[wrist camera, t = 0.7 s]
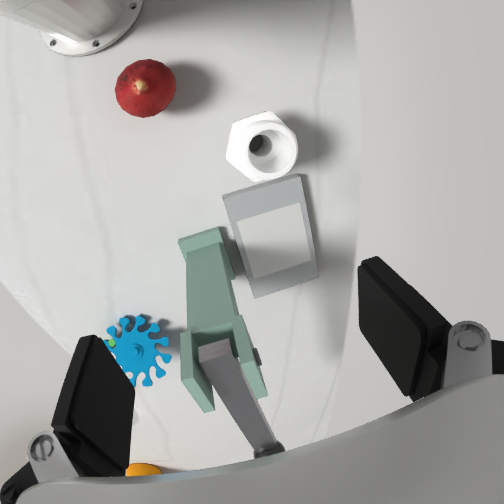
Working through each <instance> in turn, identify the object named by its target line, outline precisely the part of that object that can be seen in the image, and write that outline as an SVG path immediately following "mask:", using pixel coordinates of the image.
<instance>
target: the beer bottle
mask: <svg viewBox="0 0 504 504" xmlns="http://www.w3.org/2000/svg"><path fill="white" fill-rule="evenodd" d="M157 474H161V471H160V469H159V468H157V467H155V466H153V465H150V464H144V463H134V464H130V465H129V467H128V468H127V471H126V476H143V475H157Z"/></svg>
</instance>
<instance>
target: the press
mask: <svg viewBox="0 0 504 504" xmlns="http://www.w3.org/2000/svg"><path fill="white" fill-rule="evenodd" d="M222 197H223V201H224V204H225V207H226V210H227V214H228V217H229V220H230V223H231V226H232V230H233V233H234V236H235V239H236V242H237V245H238V249H239V252H240V255H241V258H242V261H243V264H244V268H245V271H246V274H247V277H248V280H249V283H250V286H251V290H252V293H253V296H254V299H255V298H259V297H262V296H265V295H268V294H271V293H274V292H277V291H280V290H283V289H286V288H289V287H292V286H295V285H298V284H301V283H304V282H306V281H309V280H312V279H315V278H318V277H319V274H318V268H317V262H316V256H315V250H314V244H313V239H312V233H311V228H310V222H309V217H308V212H307V207H306V202H305V197H304V192H303V187H302V182H301V177H300V176H299V175H298V174H293V175H289V176H286V177H282V178H278V179H275V180H272V181H268V182H265V183H261V184H258V185H255V186H251V187H248V188H245V189H241V190H238V191H235V192H232V193H228V194H225V195H222ZM178 244H179V247H180V249H181V252H182V254H183V256H184V259H185V261H186V285H187V331H185V332H182V333H180V360H181V381H182V383H183V384H184V385H185V387H186V388H187V390H188V391H189V393H190V394H191V395H192V397H193V398H194V400H195V401H196V402H197V404H198V405H199V407H200V408H201V409H202V411H203V412H204V413H206V412H210V411H215V405H214V398H213V391H212V383H211V381H210V380H209V378H208V376H207V375H206V373H205V371H204V369H203V368H202V366H201V364H200V362H199V352H198V347H200V346H203V345H207V344H210V343H214V342H217V341H220V340H224V339H227V338H229V339H230V342H231V344H232V346H233V348H234V351H235V353H236V355H237V357H239V360H240V364H241V366H242V369H243V371H244V373H245V375H246V377H247V380H248V382H249V384H250V386H251V388H252V390H253V393H254V395H255V397H256V399H259V398H262V397H266V396H268V394H267V390H266V387H265V383H264V380H263V376H262V373H261V370H260V365H262V363H261V360H260V356H259V354H258V351H257V348H254V347H253V344H252V341H251V339H250V336H249V333H248V331H247V328H246V325H245V322H244V320H243V317H242V314H241V315H239V312H238V308H237V304H236V300H235V296H234V292H233V288H232V283H231V280H234V279H235V275H234V272H233V269H232V266H231V263H230V260H229V257H228V254H227V251H226V248H225V245H224V242H223V239H222V236H221V233H220V230H219V227H215V228H212V229H209V230H206V231H203V232H200V233H197V234H194V235H191V236H188V237H185V238H182V239H179V240H178Z"/></svg>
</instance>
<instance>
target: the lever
mask: <svg viewBox="0 0 504 504" xmlns="http://www.w3.org/2000/svg"><path fill="white" fill-rule="evenodd" d="M198 352H199V362H200V364H201V366H202V368H203V369H204V371H205V373H206V375H207V376H208V378H209V380H210V381H211V383H212V385H213V386H214V388H215V390H216V391H217V393H218V395H219V396H220V398H221V399H222V401H223V403H224V404H225V406H226V408H227V409H228V411H229V412H230V414H231V415H232V417H233V419H234V420H235V422H236V423H237V425H238V426H239V428H240V429H241V431H242V432H243V434H244V435H245V437H246V438H247V440H248V441H249V443H250V444H251V446H252V447H253V449H254V458H255V459H257V458H261V457H266V456H270V455H273V454H277V453H281V452H285V448H284V446H283V445H282V444H281V443H280V442H279V441H277V440H276V438H275V436H274V434H273V432H272V430H271V428H270V426H269V424H268V422H267V420H266V418H265V416H264V414H263V412H262V409H261V407H260V405H259V403H258V401H257V399H256V397H255V395H254V393H253V390H252V388H251V386H250V384H249V382H248V380H247V377H246V375H245V373H244V371H243V369H242V366H241V364H240V362H239V360H238V357H237V355H236V353H235V351H234V348H233V346H232V344H231V342H230V339H229V338H227V339H224V340H220V341H217V342H214V343H210V344H207V345H203V346H200V347H198Z"/></svg>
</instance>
